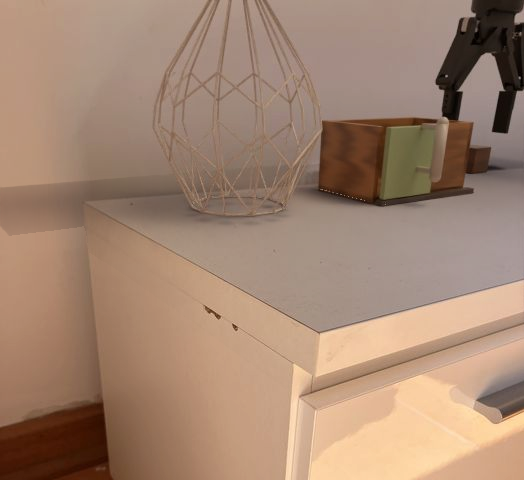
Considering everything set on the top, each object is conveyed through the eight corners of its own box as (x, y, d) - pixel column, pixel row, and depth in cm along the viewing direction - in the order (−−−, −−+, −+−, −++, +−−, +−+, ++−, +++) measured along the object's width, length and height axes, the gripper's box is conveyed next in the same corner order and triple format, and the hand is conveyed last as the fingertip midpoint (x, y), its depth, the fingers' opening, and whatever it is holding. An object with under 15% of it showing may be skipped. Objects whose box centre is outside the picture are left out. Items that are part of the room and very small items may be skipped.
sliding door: (452, 198, 71) (465, 116, 67) (405, 205, 67) (416, 118, 63) (425, 192, 75) (435, 114, 70) (379, 198, 70) (387, 116, 66)
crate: (473, 192, 79) (485, 123, 75) (381, 206, 70) (390, 127, 66) (406, 179, 88) (413, 116, 84) (317, 190, 79) (321, 120, 75)
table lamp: (195, 239, 55) (173, -362, 37) (115, 198, 72) (74, -229, 54) (369, 214, 66) (415, -259, 48) (264, 184, 83) (270, -175, 65)
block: (487, 172, 96) (491, 147, 94) (472, 173, 94) (476, 148, 92) (467, 168, 99) (471, 144, 97) (452, 170, 97) (456, 145, 95)
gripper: (527, -8, 94) (500, 129, 103) (424, -24, 81) (404, 134, 90) (571, -12, 88) (538, 133, 98) (468, -30, 76) (442, 139, 85)
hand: (474, 134), depth 94 cm, fingers open, 13 cm apart
